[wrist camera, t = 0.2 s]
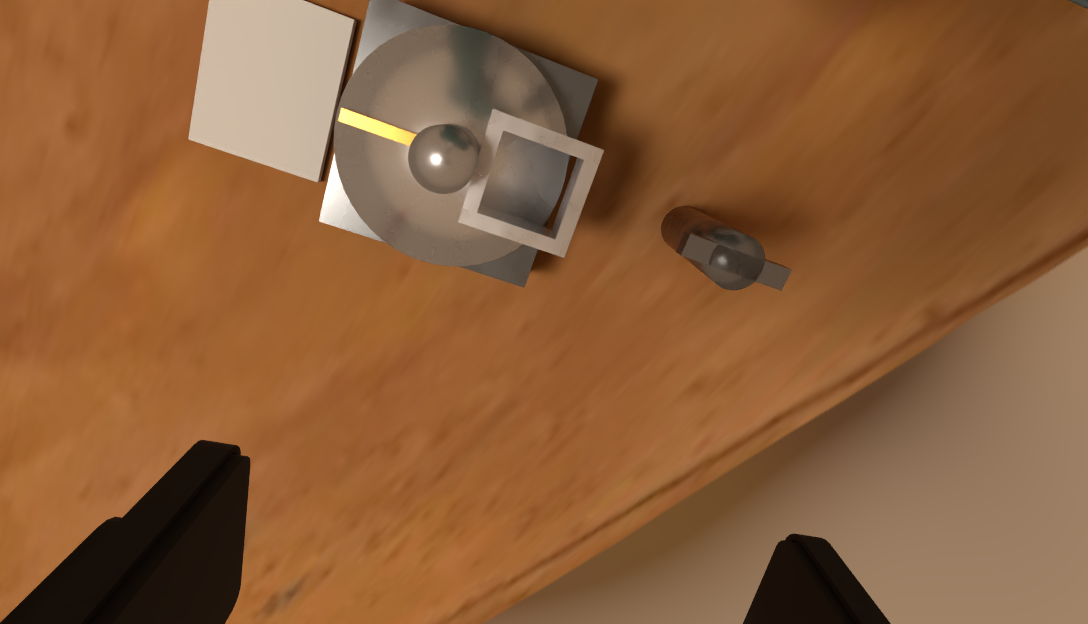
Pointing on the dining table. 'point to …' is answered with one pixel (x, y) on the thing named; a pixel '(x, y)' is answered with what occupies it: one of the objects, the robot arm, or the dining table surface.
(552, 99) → the collar
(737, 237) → the chuck key
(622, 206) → the dining table surface
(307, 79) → the key mat
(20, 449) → the dining table surface
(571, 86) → the stand
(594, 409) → the dining table surface
